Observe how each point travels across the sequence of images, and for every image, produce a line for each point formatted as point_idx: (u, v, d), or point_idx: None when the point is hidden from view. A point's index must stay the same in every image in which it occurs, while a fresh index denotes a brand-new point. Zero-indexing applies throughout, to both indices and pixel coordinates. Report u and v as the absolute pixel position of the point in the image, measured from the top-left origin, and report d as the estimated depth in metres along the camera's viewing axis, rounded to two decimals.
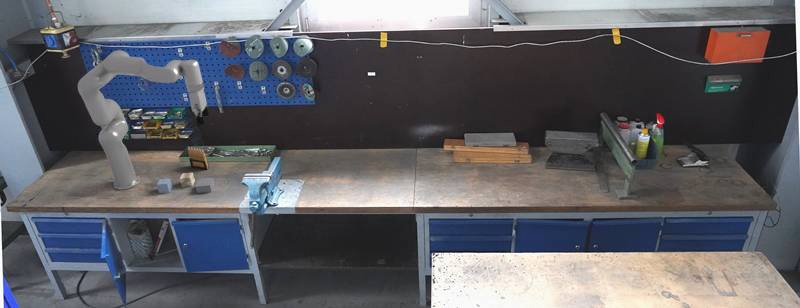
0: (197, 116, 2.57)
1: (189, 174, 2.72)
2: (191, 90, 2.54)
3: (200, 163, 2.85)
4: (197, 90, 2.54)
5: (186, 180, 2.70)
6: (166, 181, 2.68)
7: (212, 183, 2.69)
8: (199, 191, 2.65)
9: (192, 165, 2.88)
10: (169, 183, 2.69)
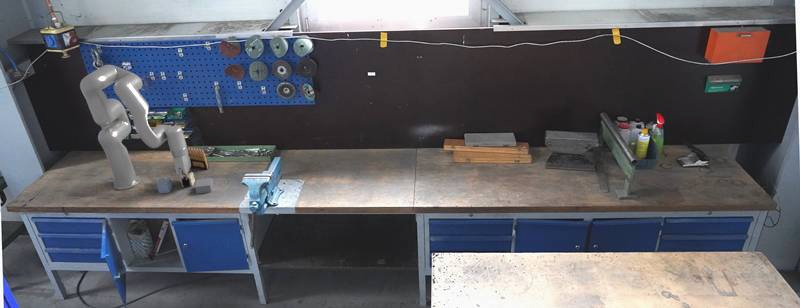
0: (183, 179, 2.67)
1: (189, 174, 2.72)
2: (175, 155, 2.62)
3: (200, 163, 2.86)
4: (181, 155, 2.62)
5: None
6: (166, 181, 2.68)
7: (211, 183, 2.69)
8: (199, 191, 2.65)
9: (192, 165, 2.88)
10: (169, 183, 2.69)
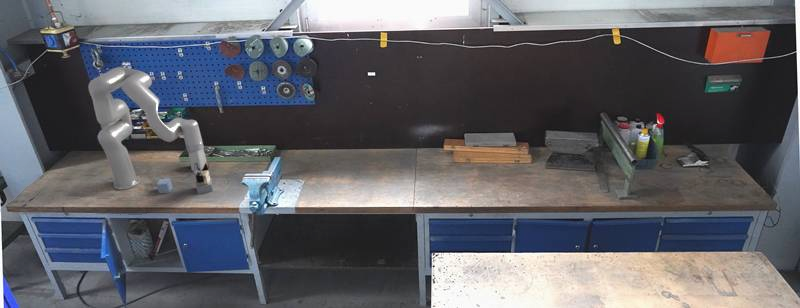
0: (197, 175, 2.58)
1: (205, 172, 2.66)
2: (191, 150, 2.55)
3: None
4: (197, 150, 2.55)
5: None
6: (166, 181, 2.68)
7: (211, 183, 2.69)
8: (200, 192, 2.65)
9: None
10: (169, 183, 2.69)
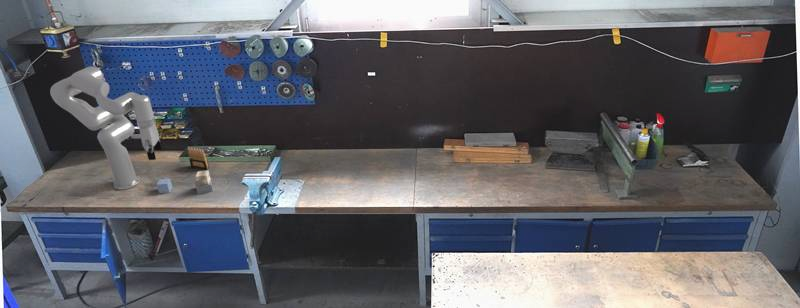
0: (148, 152, 2.52)
1: (205, 172, 2.66)
2: (142, 126, 2.49)
3: (200, 163, 2.85)
4: (148, 126, 2.50)
5: (203, 178, 2.63)
6: (166, 181, 2.68)
7: (211, 183, 2.69)
8: (200, 192, 2.65)
9: (192, 165, 2.88)
10: (169, 183, 2.69)
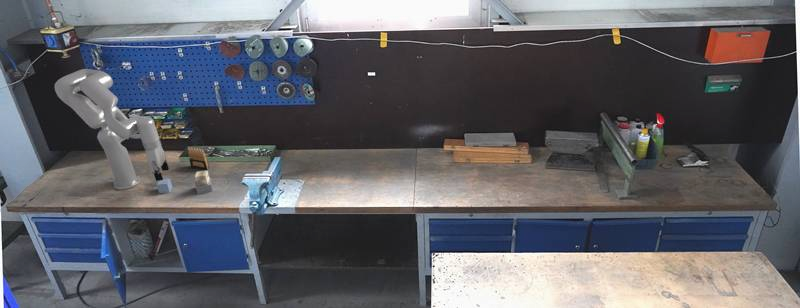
0: (155, 173, 2.57)
1: (204, 172, 2.65)
2: (147, 148, 2.54)
3: (200, 163, 2.86)
4: (153, 147, 2.55)
5: (202, 178, 2.63)
6: (166, 181, 2.68)
7: (211, 183, 2.69)
8: (200, 192, 2.65)
9: (192, 165, 2.88)
10: (169, 183, 2.69)
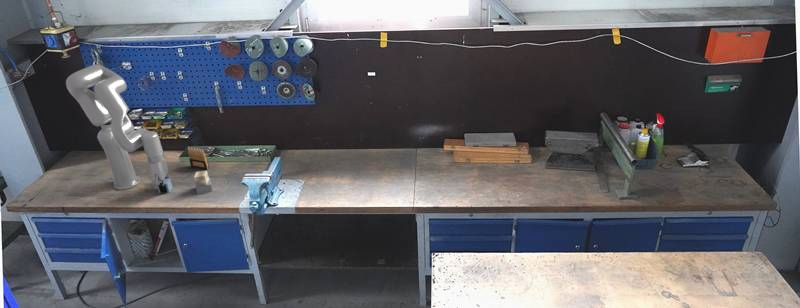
0: (159, 185, 2.63)
1: (203, 172, 2.65)
2: (151, 161, 2.58)
3: (200, 163, 2.85)
4: (157, 161, 2.58)
5: (201, 178, 2.63)
6: (166, 181, 2.67)
7: (211, 183, 2.69)
8: (200, 192, 2.65)
9: (192, 165, 2.88)
10: (169, 183, 2.69)
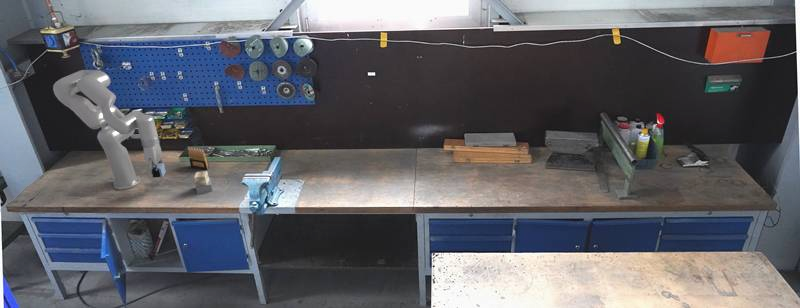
0: (153, 170, 2.60)
1: (203, 173, 2.65)
2: (145, 145, 2.54)
3: (200, 163, 2.85)
4: (152, 145, 2.55)
5: (201, 179, 2.63)
6: (160, 165, 2.64)
7: (211, 183, 2.69)
8: (200, 192, 2.65)
9: (192, 165, 2.88)
10: (163, 168, 2.65)
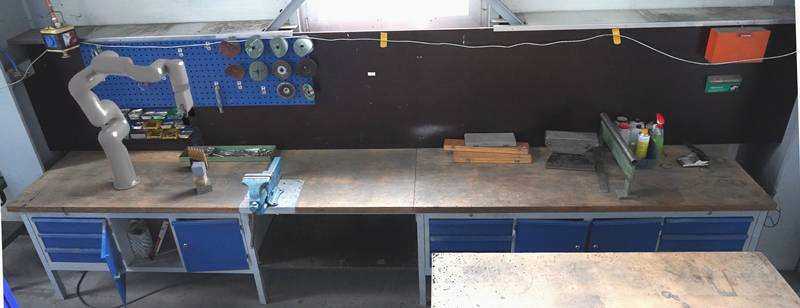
0: (183, 116, 2.52)
1: None
2: (177, 90, 2.49)
3: None
4: (183, 90, 2.49)
5: (200, 178, 2.63)
6: (201, 164, 2.62)
7: (210, 182, 2.69)
8: (200, 192, 2.65)
9: None
10: (203, 166, 2.64)
